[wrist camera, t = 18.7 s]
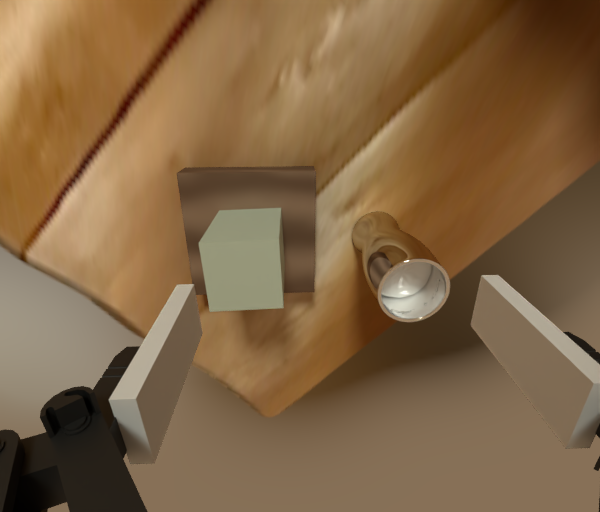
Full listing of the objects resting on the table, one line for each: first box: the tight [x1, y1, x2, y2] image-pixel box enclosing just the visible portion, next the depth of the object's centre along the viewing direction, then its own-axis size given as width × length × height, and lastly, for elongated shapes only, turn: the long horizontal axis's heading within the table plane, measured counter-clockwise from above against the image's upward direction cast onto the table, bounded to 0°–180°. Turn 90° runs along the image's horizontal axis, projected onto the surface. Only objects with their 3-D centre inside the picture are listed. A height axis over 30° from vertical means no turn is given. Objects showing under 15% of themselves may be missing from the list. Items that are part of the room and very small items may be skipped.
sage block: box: [199, 208, 285, 312], centre depth 37 cm, size 7×7×10 cm
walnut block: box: [177, 166, 316, 295], centre depth 43 cm, size 15×15×4 cm
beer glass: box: [352, 211, 450, 322], centre depth 39 cm, size 7×7×15 cm
